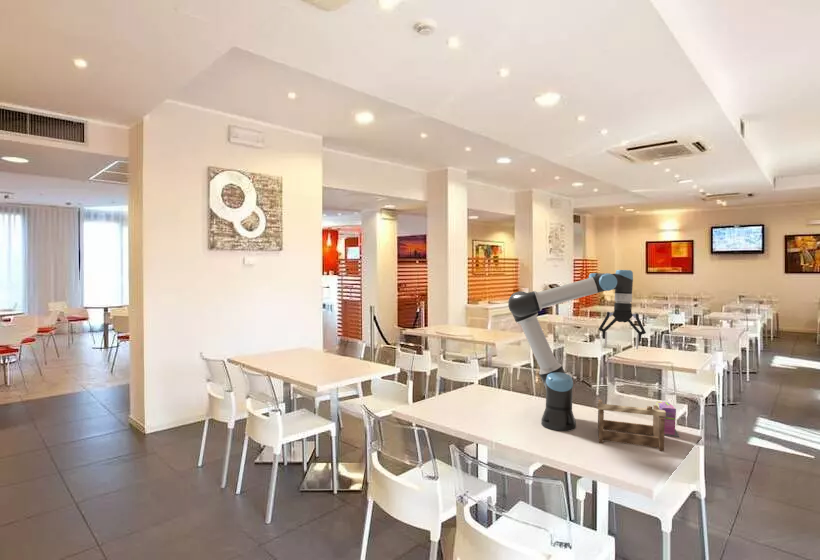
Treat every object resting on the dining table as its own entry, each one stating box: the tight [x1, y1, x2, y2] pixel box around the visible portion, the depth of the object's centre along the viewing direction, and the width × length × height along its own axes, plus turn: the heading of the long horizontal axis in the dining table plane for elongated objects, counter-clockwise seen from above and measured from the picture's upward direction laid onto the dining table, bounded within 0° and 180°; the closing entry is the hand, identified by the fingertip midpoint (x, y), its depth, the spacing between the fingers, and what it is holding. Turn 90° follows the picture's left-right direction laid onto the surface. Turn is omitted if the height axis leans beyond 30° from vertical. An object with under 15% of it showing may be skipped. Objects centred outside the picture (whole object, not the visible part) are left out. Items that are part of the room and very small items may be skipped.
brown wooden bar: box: [597, 402, 666, 417], centre depth 195 cm, size 26×3×3 cm, turn 70°
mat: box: [664, 429, 680, 438], centre depth 211 cm, size 10×11×1 cm
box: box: [655, 401, 677, 435], centre depth 211 cm, size 10×6×12 cm, turn 166°
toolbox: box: [597, 399, 665, 452], centre depth 201 cm, size 24×20×13 cm
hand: (621, 347), depth 223 cm, fingers open, 13 cm apart
